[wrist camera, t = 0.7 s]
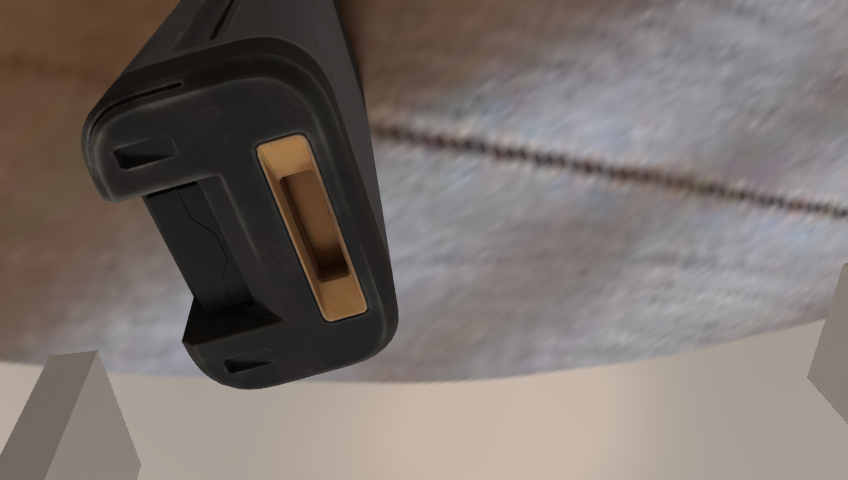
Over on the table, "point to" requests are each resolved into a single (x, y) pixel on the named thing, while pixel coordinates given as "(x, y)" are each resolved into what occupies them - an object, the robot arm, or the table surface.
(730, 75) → the table surface
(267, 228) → the electronic device
